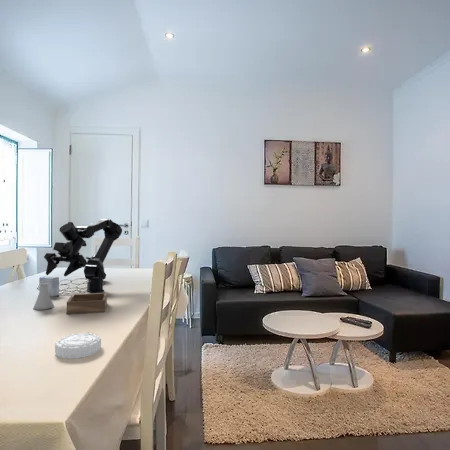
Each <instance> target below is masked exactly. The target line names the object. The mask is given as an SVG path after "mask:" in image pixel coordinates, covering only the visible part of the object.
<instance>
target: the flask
mask: <svg viewBox="0 0 450 450" xmlns="http://www.w3.org/2000/svg"><path fill="white" fill-rule="evenodd" d="M38 285H39V286H40V292H38V296H37V298H36V301H35V303H34V305H33V308H32V309H34V310H36V311H37V310H41V311H44V310H48V309H53V308H54V307H55V305H54V302H53V300H52V297H51V296H50V295H49V292H48V283H42V284H38ZM39 286H38V287H39Z"/></svg>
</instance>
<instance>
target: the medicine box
mask: <svg viewBox="0 0 450 450" xmlns="http://www.w3.org/2000/svg"><path fill="white" fill-rule="evenodd" d="M38 281H39V282H38V283H39V284H42V283H48V292H49V295H50V298H52V297H56V296H59V295H60V277H59V276H51V275H45V276H41V277H39V279H38ZM39 284H38V285H39ZM38 288H39V292H40V286H38ZM39 292H38V293H39Z"/></svg>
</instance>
